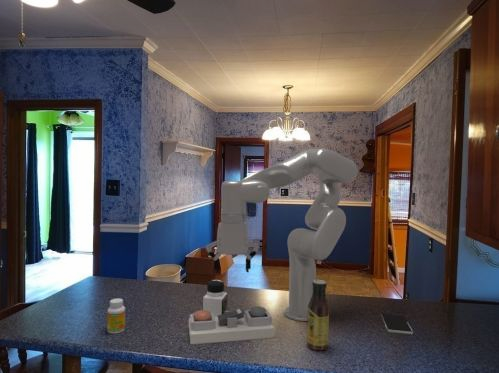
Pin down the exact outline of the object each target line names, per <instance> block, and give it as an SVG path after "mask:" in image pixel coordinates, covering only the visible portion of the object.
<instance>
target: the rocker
mask: <svg viewBox="0 0 499 373" xmlns="http://www.w3.org/2000/svg"><path fill="white" fill-rule="evenodd" d="M229 311H230V312H227V313H224V314H221V315H218V316H217V317H218V320H219V324H220V325H223V324H226V323H227V318H234V317H237V320H238V319H241V318H244V311H243V310H242V308H241V307H240V308H236V309H233V310H229Z"/></svg>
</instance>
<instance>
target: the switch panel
mask: <svg viewBox="0 0 499 373" xmlns="http://www.w3.org/2000/svg"><path fill="white" fill-rule="evenodd" d="M265 309H266V308H265ZM230 311H231V310H227V311H225V313H227V312H230ZM243 314H244V318H241V319H238V320H237V317H234V318H227V323H226V324H223V325H220V324H219V320H218V317H214V313H211V319H210V321H197V322H195V312H194V313H189V318H188V334H189V340H190V341H189V342H190V345H202V344H213V343H215V344H216V343H224V342H228V343H229V342H236V341H237V342H238V341H239V342H240V341H248V340H249V341H251V340H261V339H263V340H264V339H272V338H273V339H274V338H275V330H276V329H275V326H274V325H273V323H272V320H273V319H272V318H273V317H272V315H271V314H270V312H269V311H268V309H266V312H265V317H255V318H251V316H250V309H247V310H244V311H243Z"/></svg>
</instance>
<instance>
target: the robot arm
mask: <svg viewBox="0 0 499 373" xmlns="http://www.w3.org/2000/svg"><path fill="white" fill-rule="evenodd" d="M314 173H316V175H317V178H318V183H319V191H318V193H317V195H316V197H315V199H314V200H313V202H312V204H311V206H310V207H309V209H308V211H307V212H306V213H305V217H304V223H305V226H307V227H308V228H310V229H307V228H302V227H300V228H295V229H293V230H292V231H290V233H289V235H288V237H287V240H286V241H287V242H286V243H287V249H288V250H287V251H288V256H289V257H288V258H289V272H288V273H289V274H288V276H289V279H288V281H289V282H288V283H289V284H288V306H287V307H286V308H285V309H284V311H283V312H284V316H286V318H289V319H290V320H294V321H299V322H300V321H301V322H307V318H308V305H309V302H310V300H311V297H312V294H313V285H312V284H313V281H314V280H317V279H316V278H317V277H316V274H317V266H316V261H324V260H326V259H327V258H328V257H329V256H330V254H332V252H333V250H334V248H335V247H336V245H337V243H338V241H339V239H340V237H341V235H342V234H343V232H344V230H345V227H346V225H347V224H346V223H347V217H346V213H345V212H344V210H343V209H341V208H340V207H338V206H339V203H340V201H341V197H342V195H341V189H340V185H339V183H342V184H348V183H353V181H354V180H355V179H356V178H357V177H358V167H357V164H356V163H355V162H354V161H353V160H352V159H351V158H348V157H346V156H344V155H343V154H340V153H338V152H335V151H333V150H331V149H329V148H325V147H324V148H323V147H321V148H308V149H305V150H303V151H301V152H299V153H297V154H295V155H293V156H291V157H289V158H288V159H285V160H283V161H281V162H279V163H277V164H274V165H271V166H269V167H266V168H263V169H261V170H258V171H256V172H254V173H252V174H249V175H248V176H246V177H244V178H242V179H240V180H225V181H222V183H221V188H220V190H221V191H220V193H221V196H220V199H221V203H220V204H221V206H220V208H221V210H220V211H221V213H220V214H221V215H220V218H221V219H220V222H218V225H217V226H218V227H217V233H216V234H217V235H216V240H215V241H213V242H211V243H209V244H207V245H205V249H206V252H207V254H208V255H209V256H210V257H211V258H212V260H213V261H214V262H213V264H214V265H213V266H214V267H213V269H214V270H215V271H216V274H218V273H219V272H220V269H219V268H220V260H219V258H220V257H221V256H222V255H223V256H224V255H225V256H228V255H229V256H231V255H234V256H235V255H244V256H245V257H246V258H245V272H246V273H249V272H250V271H249V270H251V267H252V266H251V265H252V264H251V262H252V261H251V260H252V259H253V258H254V257H255V256H256V255H257V253H258V251H259V248H260V246H259V244H257V243H255V242H253V241H252V240H249V232H248V231H249V230H248V224H247V222H245V221H247V220H250V215H249V214H248V215H247V214H245V209H246V208H245V207H246V206H245V203H252V204H253V203H254V204H261V203H264V202H266V200H268V198H269V197H270V194H271V189H276V188H284V187H287V186H288V187H289V186H292V185H293V184H295V183H297V182H299V181H300V180H302V179H304V178H306V177H308V176H309V175H311V174H314ZM249 246H251V247H252V248H253V250H252V251H251V252H249ZM214 247H216V252H213V250H212V249H213V248H214Z"/></svg>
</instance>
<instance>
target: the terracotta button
mask: <svg viewBox="0 0 499 373" xmlns="http://www.w3.org/2000/svg"><path fill="white" fill-rule="evenodd" d="M194 313H195V322H197V321H210V319H211V312H210V311H208V310H203V309H200V310H196V311H195V312H194Z"/></svg>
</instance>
